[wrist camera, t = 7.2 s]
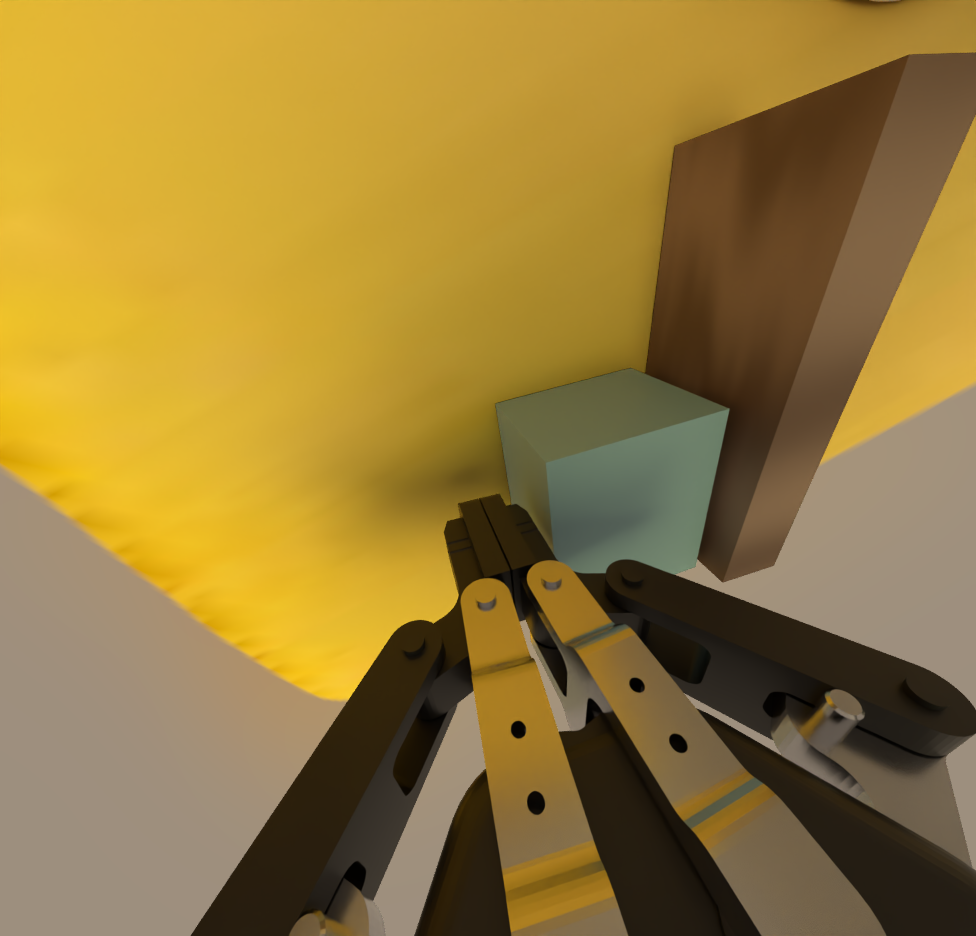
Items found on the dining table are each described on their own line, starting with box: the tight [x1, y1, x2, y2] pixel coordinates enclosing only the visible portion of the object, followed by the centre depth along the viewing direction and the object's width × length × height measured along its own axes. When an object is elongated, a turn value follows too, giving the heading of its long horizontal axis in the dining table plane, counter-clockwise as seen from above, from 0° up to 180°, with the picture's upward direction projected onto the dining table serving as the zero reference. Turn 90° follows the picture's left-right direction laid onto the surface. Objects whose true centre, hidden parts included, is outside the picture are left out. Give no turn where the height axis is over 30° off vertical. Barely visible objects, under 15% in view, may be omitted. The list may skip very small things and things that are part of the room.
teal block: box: [495, 368, 729, 575], centre depth 14 cm, size 7×6×5 cm
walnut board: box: [646, 53, 976, 582], centre depth 13 cm, size 14×2×6 cm, turn 6°
